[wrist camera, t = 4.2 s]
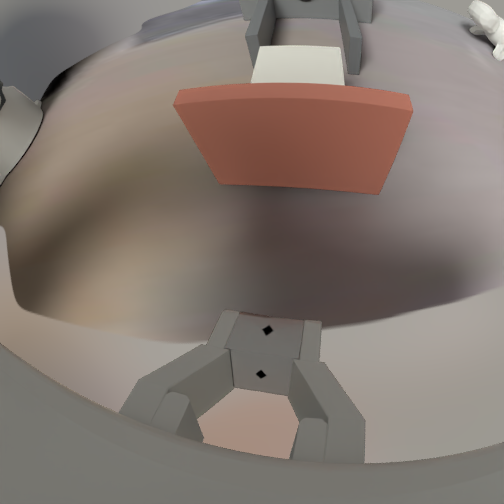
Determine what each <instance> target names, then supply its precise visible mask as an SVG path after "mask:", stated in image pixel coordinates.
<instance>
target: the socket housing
mask: <svg viewBox="0 0 504 504" xmlns="http://www.w3.org/2000/svg"><path fill="white" fill-rule="evenodd" d="M239 2H240V6H241V10H242V13H243V17H244V20H251V21H250V24H249V26H248V29H247V32H246V35H245V38H246V41H247V45H248V49H249V53H250V57H251V61H252V65H253V69H254V68H255V64H256V60H257V56H258V52H259V48H260V46H270V45H271V40H272V35H273V31H274V26H275V22H276V18H322V19H337V20H339V23H340V28H341V33H342V39H343V45H344V51H345V57H346V64H347V72H348V74H356V75H359V69H360V60H361V49H362V35H361V32H360V28H359V25H358V22H365V23H371V18H372V3H373V0H239Z"/></svg>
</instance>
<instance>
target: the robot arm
mask: <svg viewBox="0 0 504 504" xmlns="http://www.w3.org/2000/svg"><path fill="white" fill-rule="evenodd" d="M41 103H42V102H41V101H39V100H36V101H35V102H33V101H32V100H31V99H29V98H28V97H27V96H26V95H24V94H23V93H22V92H20V91H19V90H18V89H17V88H15V87H14V86H9V87H3V83H2V82H1V81H0V185H1V183H2V182H3V180H4V178H5V177H6V175H7V174H8V173H9V172H10V171H11V170H12V169H13V167H14V166H15V165H16V164H17V162H18V161H19V160H20V158H21V157H22V156H23V154H24V153H25V151H26V150H27V148H28V147H29V145H30V143H31V142H32V140H33V138H34V136H35V134H36V132H37V130H38V128H39V126H40V123H41V121H42V117H43V112H42V110H41ZM321 327H322V323H321V321H314V320H305V321H304V320H300V319H291V318H282V317H273V316H266V315H259V314H253V313H247V312H239V311H233V310H227V309H225V310H224V311H223V312H222V313H221V315H220V318H219V320H218V322H217V324H216V326H215V328H214V330H213V332H212V334H211V336H210V338H209V340H208V342H207V344H206V345H203V344H201V345H200V346H198V347H196V348H194V349H193V350H191V351H189V352H187V353H186V354H184V355H182V356H180V357H179V358H177V359H175V360H173V361H172V362H170V363H168V364H166V365H164V366H163V367H161V368H159V369H157V370H155V371H154V372H152V373H150V374H148V375H146V376H144V377H142V378H141V379H139V380H138V382H137V383H136V385H135V387H134V388H133V390H132V392H131V393H130V395H129V397H128V398H127V400H126V401H125V403H124V405H123V406H122V408H121V410H120V411H119V413H117V412H115V411H113V410H110V409H108V408H106V407H104V406H102V405H100V404H98V403H96V402H94V401H91V400H90V399H88V398H86V397H84V396H82V395H80V394H78V393H76V392H74V391H73V390H71V389H69V388H67V387H65V386H64V385H62V384H60V383H59V382H57V381H55V380H53V379H52V378H50V377H49V376H47V375H45V374H44V373H42V372H41V371H39V370H37V369H36V368H34V367H33V366H31V365H30V364H28V363H27V362H26V361H24V360H23V359H21V358H20V357H18V356H17V355H16V354H14V353H13V352H11V351H10V350H9V349H7V348H6V347H5V346H3V345H2V344H1V343H0V504H504V442H502V443H499V444H495V445H492V446H488V447H485V448H481V449H477V450H473V451H468V452H464V453H459V454H454V455H448V456H443V457H437V458H430V459H422V460H414V461H405V462H404V461H403V462H390V463H364V456H365V419H364V418H363V416H362V415H361V414H360V412H359V411H358V409H357V408H356V407H355V405H354V404H353V402H352V401H351V400H350V398H349V397H348V395H347V394H346V392H345V391H344V390H343V389H342V387H341V385H340V384H339V383H338V381H337V380H336V378H335V377H334V376H333V374H332V373H331V371H330V370H329V369H328V367H327V366H326V364H325V363H324V362H319V357H320V342H321ZM301 341H302V342H301ZM234 387H235V388H241V389H247V390H254V391H261V392H266V393H272V394H279V395H285V396H288V399H289V401H290V403H291V405H292V407H293V410H294V412H295V414H296V416H297V418H298V420H299V426H298V429H297V433H296V436H295V440H294V443H293V447H292V450H291V453H290V457H289V459H282V458H274V457H268V456H261V455H255V454H250V453H245V452H240V451H235V450H231V449H226V448H221V447H218V446H213V445H210V444H206V443H202V442H203V439H204V437H203V435H202V432H201V430H200V427H199V424H198V421H197V419H198V418H199V417H200V416H201V415H203V414H204V413H205V412H206V411H208V410H209V409H210V408H211V407H213V406H214V405H215V404H216V403H217V402H219V401H220V400H221V399H222V398H224V397H225V396H226V395H227V394H228V393H229V392H231V391H232V390H233V389H234Z"/></svg>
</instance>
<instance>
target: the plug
mask: <svg viewBox="0 0 504 504" xmlns="http://www.w3.org/2000/svg"><path fill="white" fill-rule="evenodd" d="M173 106H174V108H175V109H176V111H177V113H178V114H179V116H180V118H181V119H182V121H183V123H184V124H185V126H186V128H187V130H188V131H189V133H190V135H191V136H192V138H193V140H194V141H195V143H196V145H197V147H198V148H199V150H200V152H201V153H202V155H203V157H204V159H205V160H206V162H207V164H208V165H209V167H210V169H211V171H212V172H213V174H214V176H215V177H216V179H217V181H218V183H219V184H228V185H258V186H279V187H296V188H310V189H323V190H335V191H346V192H356V193H365V194H374V195H379V193H380V191H381V189H382V187H383V184H384V182H385V180H386V178H387V175H388V173H389V171H390V169H391V166H392V164H393V162H394V159H395V157H396V154H397V152H398V150H399V147H400V145H401V142H402V140H403V137H404V135H405V132H406V129H407V127H408V124H409V122H410V119H411V116H412V113H413V108H412V104H411V101H410V97H409V95H407V94H402V93H396V92H391V91H384V90H378V89H371V88H363V87H354V86H345V84H344V75H343V66H342V58H341V51H340V48H339V47H325V46H260V48H259V52H258V56H257V60H256V64H255V68H254V72H253V76H252V80H251V83H246V84H230V85H218V86H208V87H199V88H191V89H184V90H179V92H178V95H177V97H176V99H175V102H174V104H173Z"/></svg>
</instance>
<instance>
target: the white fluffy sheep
mask: <svg viewBox="0 0 504 504" xmlns="http://www.w3.org/2000/svg"><path fill="white" fill-rule="evenodd" d="M468 13H469V15H470V17H471V18H472V19H473V21H474V22H475V23H476V24H477V25H476V26H473V27H471V28H470V32H471V33H472V34H474V35H486V36H487V38H488V39H489V40H490V41H491V42H492V43H493V45H494V46H496V48H495V50H494V51H493V56H494V57H495V59H496V60H498V61H502V60H503V59H504V19H503V18H501V17H499V16H497V14H496V13H495V12H494V10H493V9H492V8H491V7H490V6H489V5H487V4H486V3H484V2H481V1H478V0H476V1H474V2H472V3H471V4H470V6H469V8H468Z"/></svg>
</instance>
